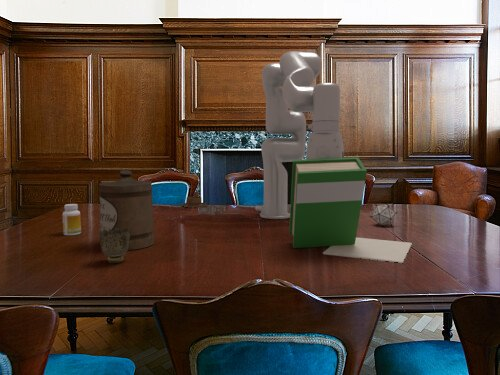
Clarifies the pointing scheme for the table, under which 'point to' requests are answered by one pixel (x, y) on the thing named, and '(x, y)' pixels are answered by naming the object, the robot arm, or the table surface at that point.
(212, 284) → the table surface
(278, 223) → the table surface
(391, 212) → the game die
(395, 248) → the desk pad
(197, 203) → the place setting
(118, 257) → the cup
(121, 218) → the wooden container
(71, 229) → the supplement bottle
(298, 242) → the hardback book
